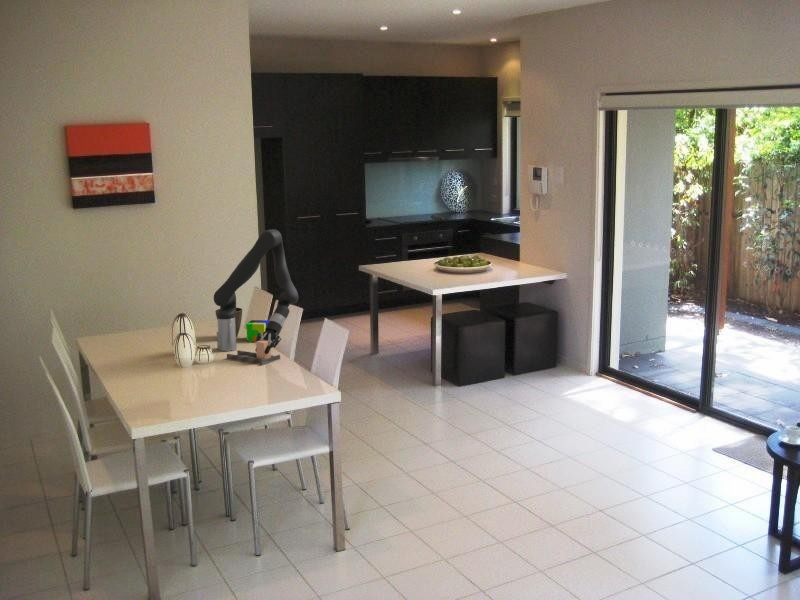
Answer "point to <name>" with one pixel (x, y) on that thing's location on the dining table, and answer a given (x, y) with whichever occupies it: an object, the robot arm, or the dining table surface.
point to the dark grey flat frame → (250, 358)
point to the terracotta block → (262, 349)
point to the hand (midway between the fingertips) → (261, 352)
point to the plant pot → (236, 319)
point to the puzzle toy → (255, 328)
